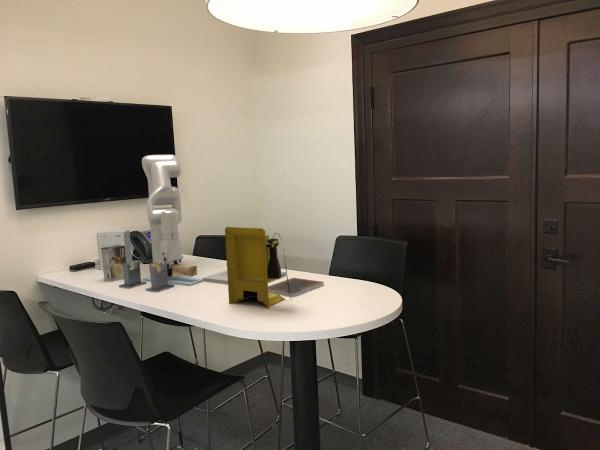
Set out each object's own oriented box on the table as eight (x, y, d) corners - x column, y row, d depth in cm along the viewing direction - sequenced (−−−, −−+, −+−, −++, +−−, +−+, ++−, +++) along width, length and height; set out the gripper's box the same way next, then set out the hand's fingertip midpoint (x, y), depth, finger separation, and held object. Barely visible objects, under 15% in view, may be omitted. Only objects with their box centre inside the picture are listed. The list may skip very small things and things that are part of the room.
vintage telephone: (305, 302, 191) (302, 224, 187) (286, 312, 179) (282, 229, 175) (239, 294, 207) (236, 222, 203) (218, 302, 195) (213, 226, 191)
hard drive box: (133, 266, 273) (130, 230, 271) (127, 269, 266) (124, 232, 263) (106, 266, 275) (103, 230, 273) (99, 269, 267) (96, 232, 265)
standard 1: (136, 282, 235) (134, 260, 234) (146, 283, 231) (145, 261, 230) (118, 287, 226) (117, 264, 225) (129, 288, 223) (127, 265, 222)
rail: (156, 270, 243) (155, 262, 242) (197, 274, 230) (196, 265, 230) (149, 272, 239) (149, 263, 239) (191, 276, 227) (190, 267, 226)
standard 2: (162, 285, 227) (160, 262, 225) (174, 286, 223) (172, 263, 222) (145, 290, 218) (144, 267, 217) (157, 292, 214) (155, 268, 213)
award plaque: (235, 271, 252) (235, 267, 252) (285, 276, 237) (285, 271, 237) (202, 282, 231) (202, 277, 231) (255, 288, 216) (255, 283, 216)
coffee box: (120, 276, 249) (117, 244, 247) (128, 277, 245) (125, 245, 243) (103, 280, 242) (100, 247, 240) (111, 281, 238) (108, 248, 236)
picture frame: (293, 299, 199) (323, 286, 216) (293, 292, 198) (323, 281, 215) (262, 293, 208) (293, 282, 226) (261, 287, 208) (293, 277, 225)
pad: (158, 275, 247) (157, 274, 247) (205, 280, 232) (205, 279, 232) (142, 280, 238) (142, 278, 238) (190, 285, 224) (190, 284, 223)
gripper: (177, 233, 242) (179, 271, 244) (151, 239, 227) (154, 278, 230) (188, 234, 238) (191, 272, 240) (163, 239, 224) (166, 279, 226)
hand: (173, 274), depth 235 cm, fingers closed on rail, 4 cm apart
